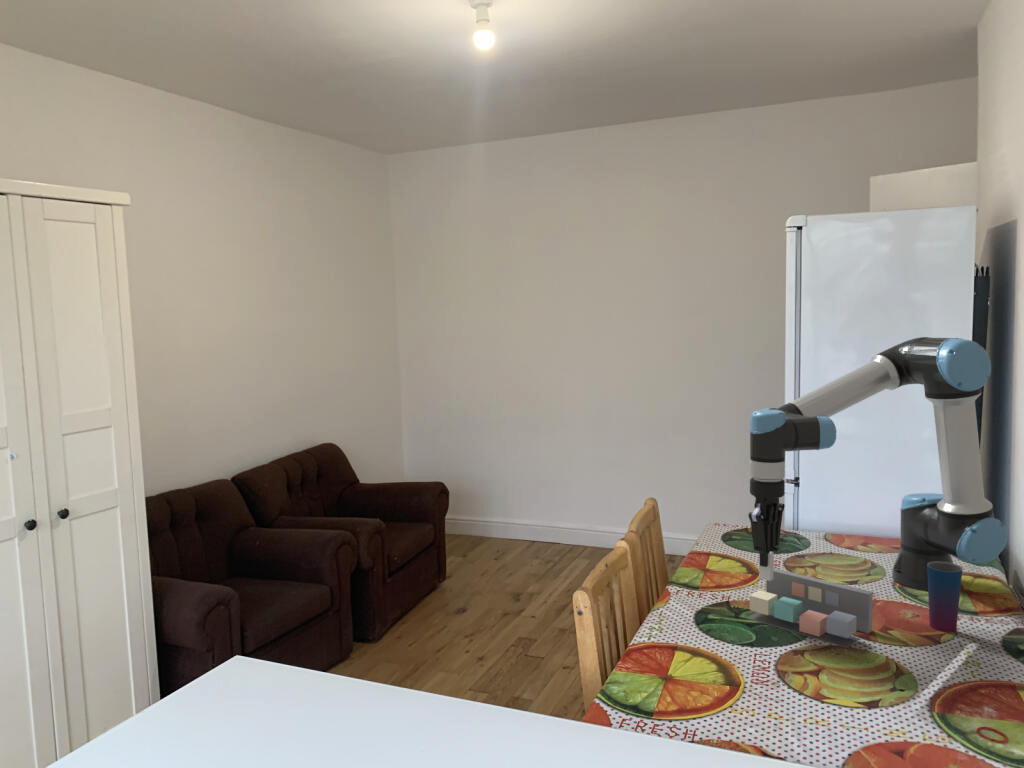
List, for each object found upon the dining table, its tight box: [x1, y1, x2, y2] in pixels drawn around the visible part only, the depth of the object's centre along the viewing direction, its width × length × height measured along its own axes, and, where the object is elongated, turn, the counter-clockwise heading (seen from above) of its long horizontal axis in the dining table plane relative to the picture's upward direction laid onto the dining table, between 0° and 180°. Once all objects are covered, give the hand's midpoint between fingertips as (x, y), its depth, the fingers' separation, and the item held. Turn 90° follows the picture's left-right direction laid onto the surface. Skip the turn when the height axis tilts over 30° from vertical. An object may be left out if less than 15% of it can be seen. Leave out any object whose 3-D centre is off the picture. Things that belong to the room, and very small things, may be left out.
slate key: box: [826, 611, 857, 638], centre depth 164 cm, size 4×4×4 cm
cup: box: [927, 561, 963, 634], centre depth 168 cm, size 7×7×15 cm
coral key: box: [799, 610, 828, 637], centre depth 168 cm, size 4×4×4 cm
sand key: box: [749, 589, 777, 615], centre depth 177 cm, size 4×4×4 cm
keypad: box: [747, 567, 874, 649], centre depth 171 cm, size 16×24×10 cm, turn 44°
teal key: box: [773, 597, 802, 622], centre depth 172 cm, size 4×4×4 cm
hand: (766, 578), depth 175 cm, fingers closed
